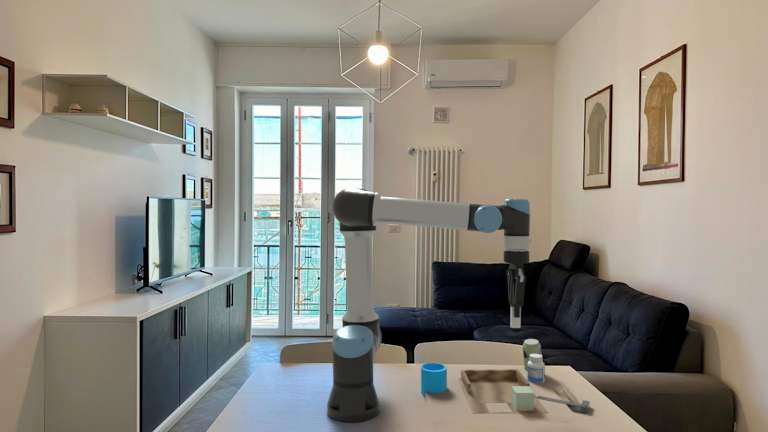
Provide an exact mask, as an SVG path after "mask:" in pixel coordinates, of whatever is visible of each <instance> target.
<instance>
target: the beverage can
mask: <svg viewBox="0 0 768 432" xmlns="http://www.w3.org/2000/svg"><path fill="white" fill-rule="evenodd" d="M522 352H523V353H522V354H523V367H524V370H525V371H526V372H528V361H530V354H540V355H542V346H541V343H540V342H539V340H538V339H535V338H527V339H525V340H523V344H522Z"/></svg>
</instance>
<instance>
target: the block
mask: <svg viewBox="0 0 768 432" xmlns="http://www.w3.org/2000/svg"><path fill="white" fill-rule="evenodd" d="M534 395H535V392H534V391H533V390H532V388H531V387H529V386H512V405H513V406H514V408H515V410H516V411H534Z"/></svg>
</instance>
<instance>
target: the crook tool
mask: <svg viewBox="0 0 768 432" xmlns="http://www.w3.org/2000/svg"><path fill="white" fill-rule="evenodd" d="M536 398H537V399H538V400H544V401H549V402H554V403H559V404H563V405H566V406H567V407H568V408H569V410H570V411H571V412H572V411H573V412H577V413H578V412H579V413H582V414H583V413H584V414H588V413H589V410H590V405H591V403H590V401H589V400H582V402H581V404H578V403H573V402H570V401H569V400H568V401H567V400H563V399H557V398H553V397H552V398H551V397H546V396H543V395H537V396H536Z"/></svg>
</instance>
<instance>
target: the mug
mask: <svg viewBox="0 0 768 432" xmlns="http://www.w3.org/2000/svg"><path fill="white" fill-rule="evenodd" d="M447 370H448V369H447V365H445V364H444V363H443V364H442V363H439V362H428V363H424V364H421V366H420V393H421V395H422V396H423V397H426V393H431V394H439V393H444V392H445V391H447V389H448V380H447V379H448V376H447V375H448V372H447Z"/></svg>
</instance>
